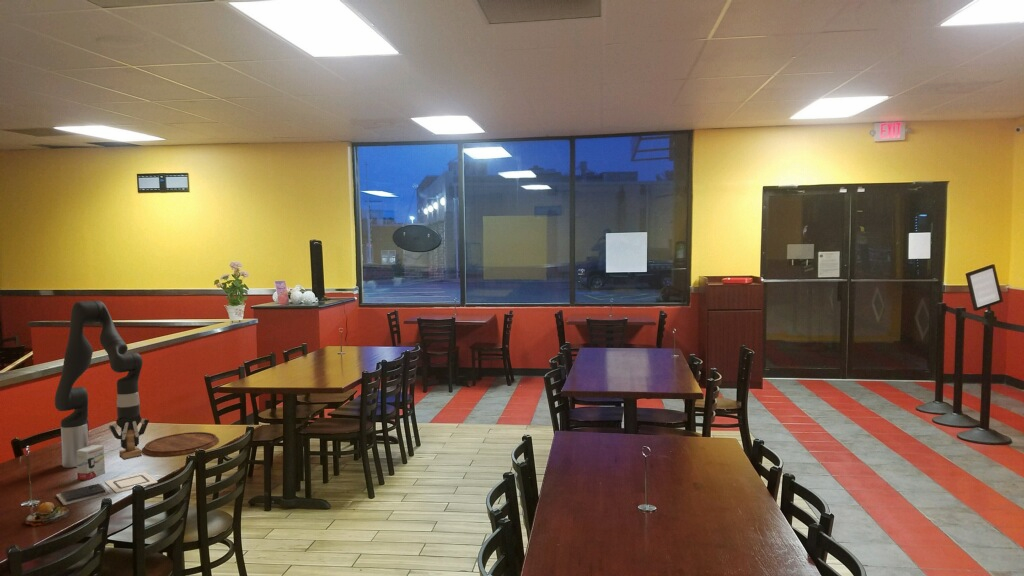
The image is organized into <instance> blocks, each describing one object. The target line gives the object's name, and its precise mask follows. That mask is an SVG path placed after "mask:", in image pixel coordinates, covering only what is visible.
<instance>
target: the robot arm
mask: <svg viewBox="0 0 1024 576" xmlns="http://www.w3.org/2000/svg"><path fill="white" fill-rule="evenodd" d="M69 323H70V324H69V332H68V333H69V334H68V340H67V345H66V349H65V353H64V359H63V367H62V369H61V370H62V371H61V375H60V380H59V381H58V385H57V389H56V391H55V396H54V406H55V408H56V410H57V411H58V412H68V411H72V410H73V412H72V413H70V414H68V415H67V416H66V417H64V418H62V419H61V420H60V436H61V457H62V461H61V463H62V464H61V465H62V467H63V468H68V469H69V468H77V451H78V450H80V449H83V448H86V447H89V431H88V428H89V427H88V417H89V394H88V390H87V388H86V387H84V386H76V387H73V386H74V385H75V383H76V381H77V380H78V379H79V378H80V377H81V376H83V374H84V373H85V372H86V371H87V370H88V369H89V367H90V366H91V364H92V357H93V353H94V349H93V346H92V345H91V343H90V342H89V340H88V339H87V338H86V336H85V334H84V326H85V325H87V324H94V323H95V324H96V323H99V324H100V325H101V328H102V329H101V331H100V335H99V341H100V345H101V346H102V347H103V350H104V351H105V352H106V354H107V356H108V360H109V365H110V368H111V370H112V371H113V372H115V373H126V372H127V374H126V375H125V376H123V377H120V378H119V379H117V381H116V414H117V415H116V416H117V417H116V418H117V419H116V421H115V423H112V424H109V425H108V429H109V430H110V431H111V433H112V436H114V438H115V439H116V440H120V447H121V448H122V450H123V449H126V439H125V437H126V433H127V430H130V429H134V432H135V447H138V445H139V443H140V436H142V435H144V434H145V432H146V429H147V427H148V424H149V423H150V420H149V419H147V418H142V416H141V405H140V402H141V400H140V395H139V379H140V375H141V371H142V367H143V357H142V355H141V354H140V353H138V352H128V353H127V351H128V346H127V343H126V342H125V340H124V339H123V337H122V336H121V335H120V334H119V332H118V331H117V328H116V326H115V324H114V321H113V318H112V316H111V314H110V312H109V310H108V308H107V305H106V304H105V303H104V302H103V301H101V300H83V301H76V302H75V303H74V304H73V305H72V308H71V311H70V322H69ZM139 424H141V426H140V428H138V426H139ZM118 427H119V428H120V435H119V433H118V431H117V429H118Z"/></svg>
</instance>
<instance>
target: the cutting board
mask: <svg viewBox="0 0 1024 576" xmlns="http://www.w3.org/2000/svg"><path fill="white" fill-rule="evenodd" d="M219 443H220V438H219V437H218V436H217V435H216V434H215V433H211V432H205V431H191V432H190V431H189V432H183V433H182V432H181V433H174V434H170V435H165V436H162V437H161V436H160V437H158V438H155V439H152V440H150V441H148V442H147V443H145V445H144V447H143V448H142V449H141V454H143V455H145V456H148V457H156V458H167V457H168V458H170V457H180V456H185V455H186V456H187V455H191V454H195V453H194V452H195V450H196V449H199V448H202V449H205V450H204V451H206V450H209V449H211V448H214V447H215V446H217V445H218V444H219Z"/></svg>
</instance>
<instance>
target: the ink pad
mask: <svg viewBox="0 0 1024 576" xmlns="http://www.w3.org/2000/svg"><path fill="white" fill-rule="evenodd" d="M107 495H110V491H109V490H108V489H107V488H106V487H105V486H104V485H103V484H102V483H95V484H92V485H91V484H90V485H87V486H81V487H79V488H75V489H70V490H66V491H60V492H59V493H56V497H57V499H58V501H60V502H61V504H62V505H63V506H66V505H70V504H74V503H79V502H82V501H88V500H90V499H94V498H99V497H102V496H107Z"/></svg>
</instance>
